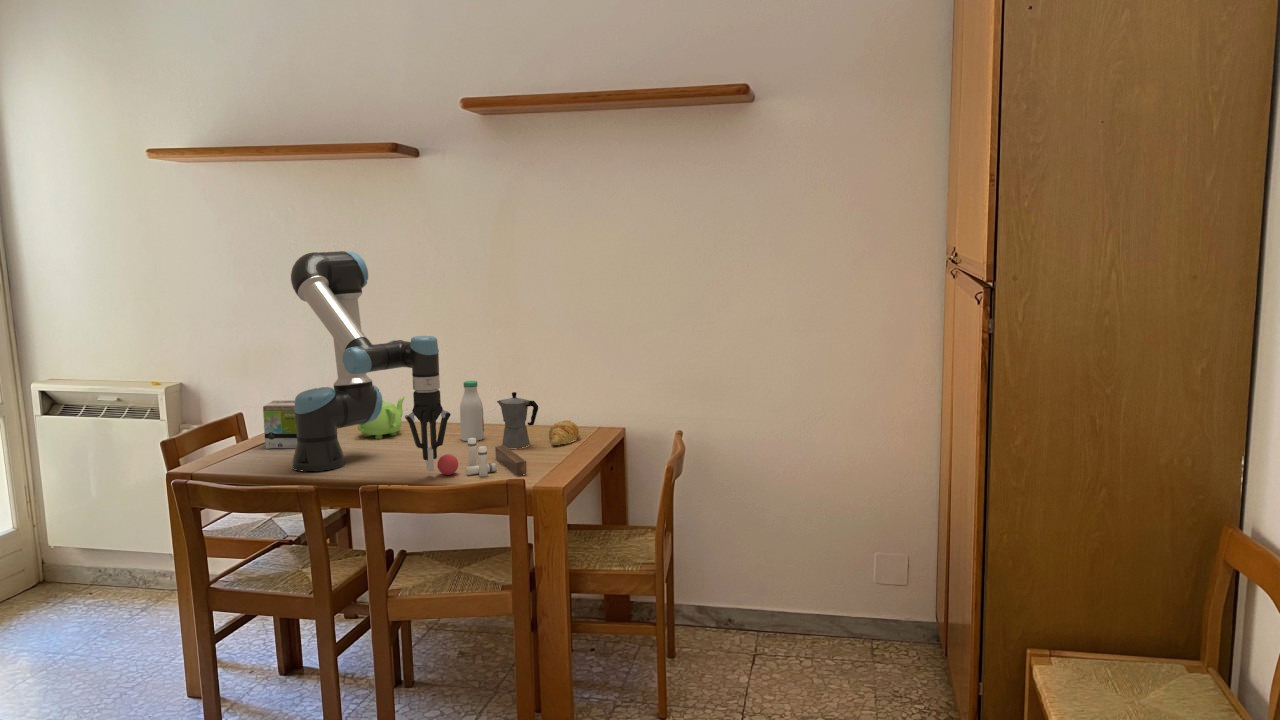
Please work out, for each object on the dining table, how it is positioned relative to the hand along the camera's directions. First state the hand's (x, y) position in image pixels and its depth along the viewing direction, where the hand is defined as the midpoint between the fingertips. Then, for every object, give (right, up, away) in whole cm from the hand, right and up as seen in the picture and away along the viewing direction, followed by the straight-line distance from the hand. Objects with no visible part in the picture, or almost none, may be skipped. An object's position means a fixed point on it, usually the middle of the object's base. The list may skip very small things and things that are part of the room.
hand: (430, 470), depth 270 cm
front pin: (+10, 0, +1) cm, 10 cm away
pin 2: (+15, -2, +1) cm, 15 cm away
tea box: (-55, +3, +42) cm, 69 cm away
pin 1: (+10, 0, +11) cm, 15 cm away
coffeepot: (+21, +3, +36) cm, 42 cm away
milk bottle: (+4, +5, +47) cm, 47 cm away
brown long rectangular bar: (+22, 0, +10) cm, 24 cm away
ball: (+5, +1, +2) cm, 5 cm away
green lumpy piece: (-29, +6, +56) cm, 63 cm away
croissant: (+35, +5, +43) cm, 56 cm away
